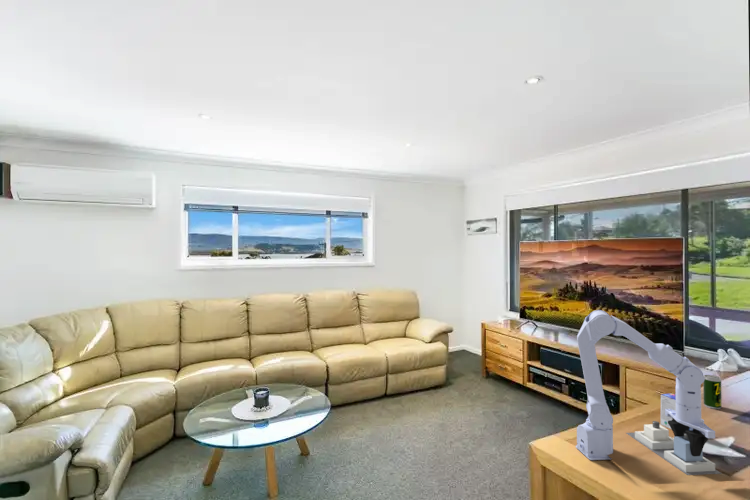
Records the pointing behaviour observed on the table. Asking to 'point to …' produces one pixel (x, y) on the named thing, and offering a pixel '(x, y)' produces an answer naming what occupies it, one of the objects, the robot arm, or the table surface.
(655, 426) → the cream plug
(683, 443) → the blue plug
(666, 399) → the ink cartridge box
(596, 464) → the table surface
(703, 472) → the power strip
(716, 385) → the beer can
